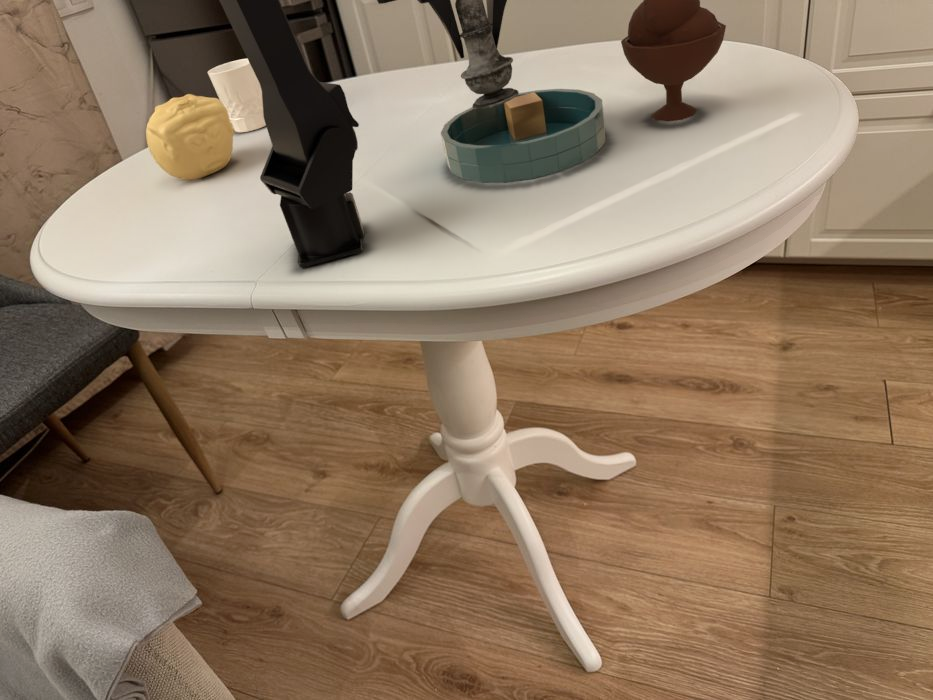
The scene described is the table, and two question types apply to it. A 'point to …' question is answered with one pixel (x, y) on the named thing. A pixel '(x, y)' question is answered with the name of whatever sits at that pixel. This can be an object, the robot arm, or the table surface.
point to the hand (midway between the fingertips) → (478, 53)
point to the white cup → (239, 94)
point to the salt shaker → (483, 57)
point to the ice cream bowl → (672, 48)
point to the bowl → (525, 139)
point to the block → (525, 116)
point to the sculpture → (190, 136)
